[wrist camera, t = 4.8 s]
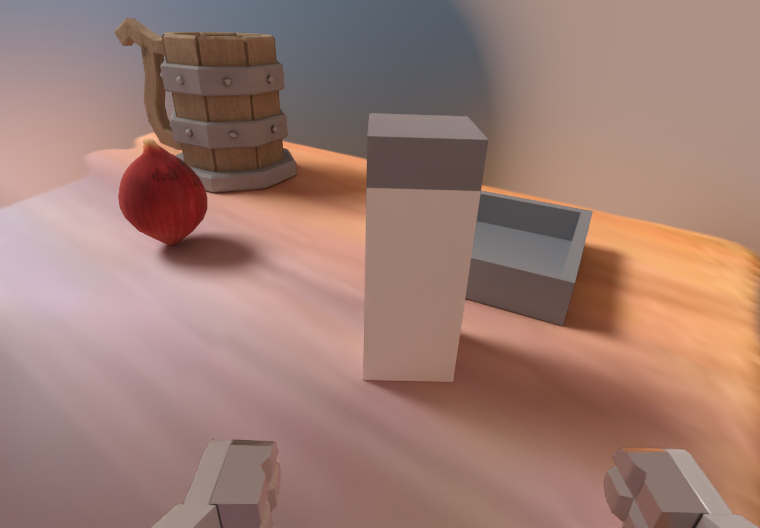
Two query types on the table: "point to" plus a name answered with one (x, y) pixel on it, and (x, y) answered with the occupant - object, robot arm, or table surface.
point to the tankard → (217, 104)
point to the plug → (418, 242)
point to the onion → (162, 195)
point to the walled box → (526, 255)
